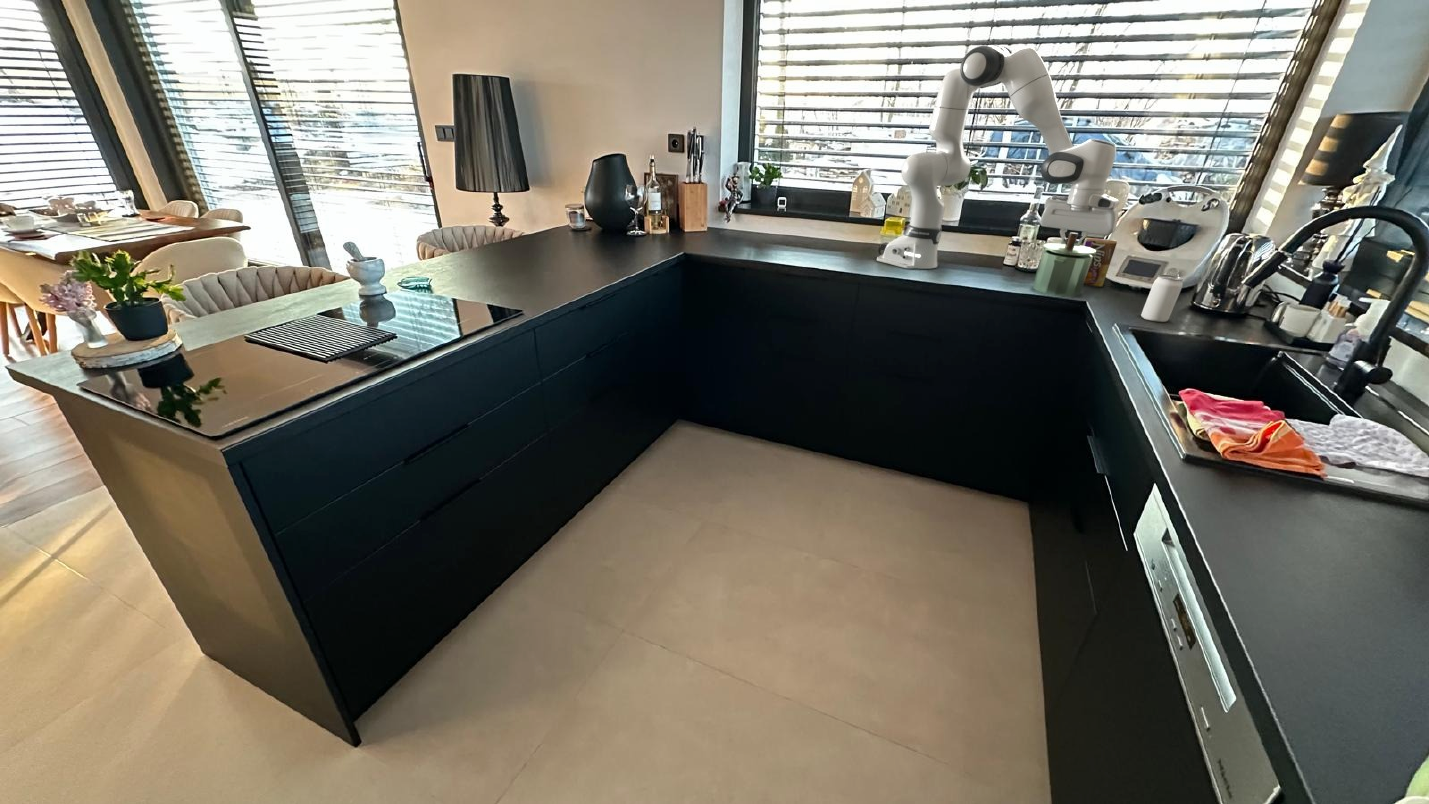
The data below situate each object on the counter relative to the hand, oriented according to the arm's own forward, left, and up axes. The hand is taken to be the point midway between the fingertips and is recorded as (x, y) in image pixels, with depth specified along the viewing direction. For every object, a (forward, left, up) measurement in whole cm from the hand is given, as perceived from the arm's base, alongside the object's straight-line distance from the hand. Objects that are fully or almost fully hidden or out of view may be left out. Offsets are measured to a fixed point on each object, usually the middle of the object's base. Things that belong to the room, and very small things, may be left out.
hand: (1070, 244), depth 174 cm
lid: (0, 0, -2) cm, 2 cm away
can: (+28, -9, -15) cm, 33 cm away
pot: (0, 0, -15) cm, 15 cm away
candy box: (+5, +18, -15) cm, 24 cm away
